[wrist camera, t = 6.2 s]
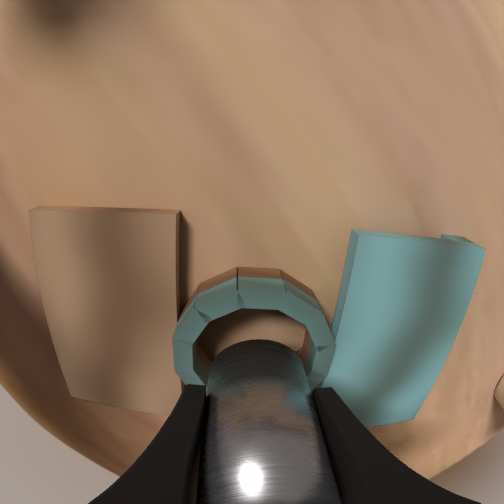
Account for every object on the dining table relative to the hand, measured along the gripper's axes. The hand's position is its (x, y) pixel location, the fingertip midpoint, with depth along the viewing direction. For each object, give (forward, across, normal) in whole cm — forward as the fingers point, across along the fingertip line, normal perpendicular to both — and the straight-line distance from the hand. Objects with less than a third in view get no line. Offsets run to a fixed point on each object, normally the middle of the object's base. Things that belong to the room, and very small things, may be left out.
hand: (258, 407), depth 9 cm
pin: (+2, 0, 0) cm, 2 cm away
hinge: (+5, 0, 0) cm, 5 cm away
